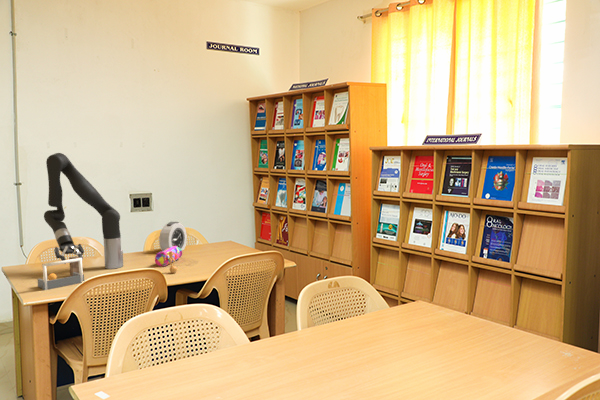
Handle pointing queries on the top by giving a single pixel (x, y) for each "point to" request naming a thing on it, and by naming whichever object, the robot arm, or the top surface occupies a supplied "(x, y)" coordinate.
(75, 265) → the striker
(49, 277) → the ball
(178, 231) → the alarm clock
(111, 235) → the robot arm
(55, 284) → the grey basket with handle
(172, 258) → the figurine
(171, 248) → the pencil case
